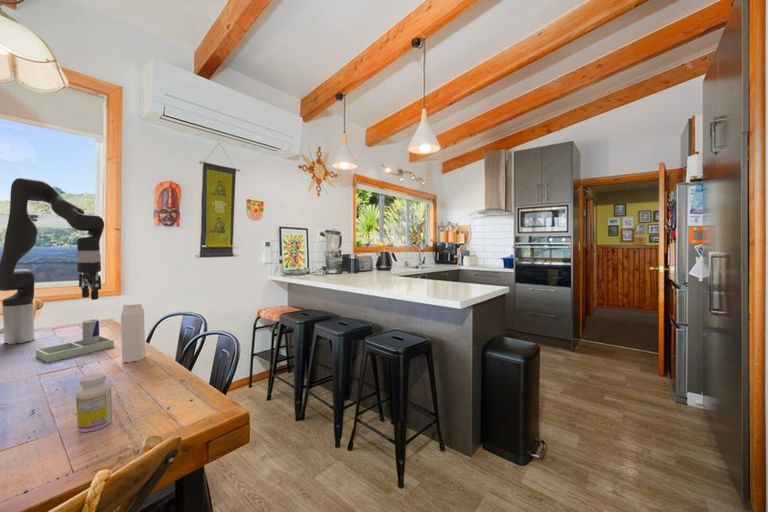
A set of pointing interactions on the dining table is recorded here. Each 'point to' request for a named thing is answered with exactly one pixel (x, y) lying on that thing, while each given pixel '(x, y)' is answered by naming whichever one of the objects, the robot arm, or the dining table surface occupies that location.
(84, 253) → the robot arm
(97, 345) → the caddy
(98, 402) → the supplement bottle
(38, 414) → the dining table surface
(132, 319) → the milk
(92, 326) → the energy drink
